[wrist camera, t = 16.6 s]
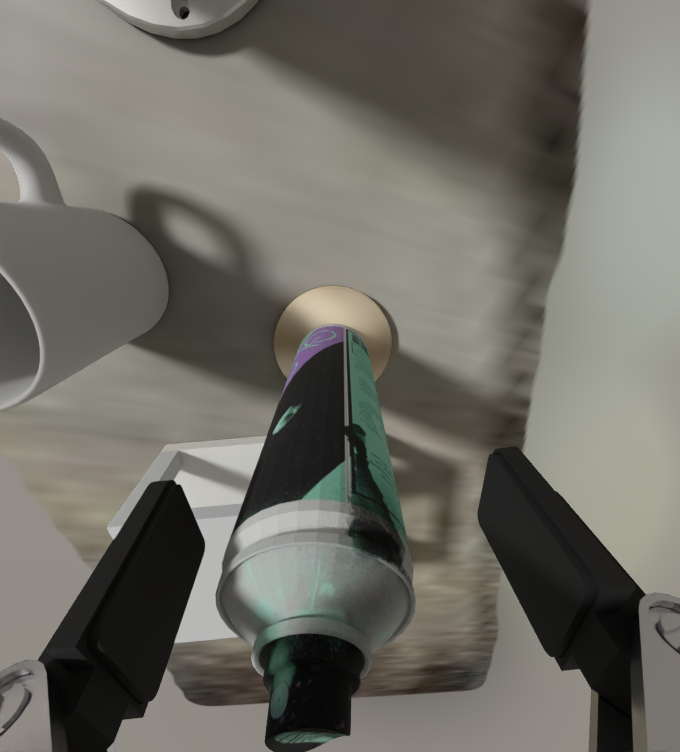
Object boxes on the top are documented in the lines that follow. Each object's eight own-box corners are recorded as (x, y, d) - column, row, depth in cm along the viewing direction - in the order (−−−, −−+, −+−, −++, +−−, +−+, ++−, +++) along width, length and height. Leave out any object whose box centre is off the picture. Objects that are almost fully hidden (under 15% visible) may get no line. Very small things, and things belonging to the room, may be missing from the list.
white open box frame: (166, 444, 28) (106, 527, 20) (368, 426, 28) (385, 502, 20) (206, 548, 34) (172, 643, 26) (372, 533, 34) (387, 622, 26)
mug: (180, 337, 24) (78, 417, 14) (62, 335, 23) (-132, 416, 13) (144, 144, 19) (-60, 51, 9) (-9, 135, 18) (-411, 25, 8)
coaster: (265, 290, 22) (263, 292, 22) (390, 280, 23) (391, 281, 22) (284, 399, 26) (283, 403, 26) (390, 390, 26) (391, 393, 26)
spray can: (305, 314, 23) (164, 656, 5) (377, 333, 23) (500, 702, 5) (291, 380, 25) (160, 779, 7) (357, 395, 26) (393, 802, 8)
